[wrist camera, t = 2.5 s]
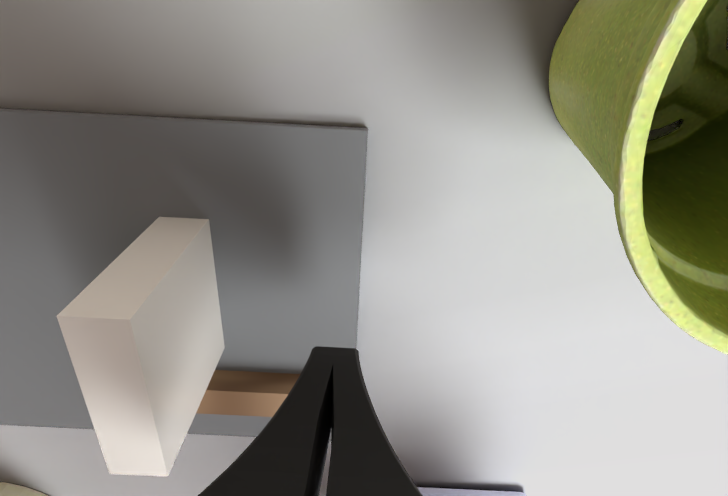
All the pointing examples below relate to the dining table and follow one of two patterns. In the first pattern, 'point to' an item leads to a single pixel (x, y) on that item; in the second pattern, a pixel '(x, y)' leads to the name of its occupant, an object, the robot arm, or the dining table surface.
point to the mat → (180, 200)
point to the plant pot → (656, 142)
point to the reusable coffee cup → (17, 490)
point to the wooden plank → (246, 393)
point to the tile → (147, 344)
